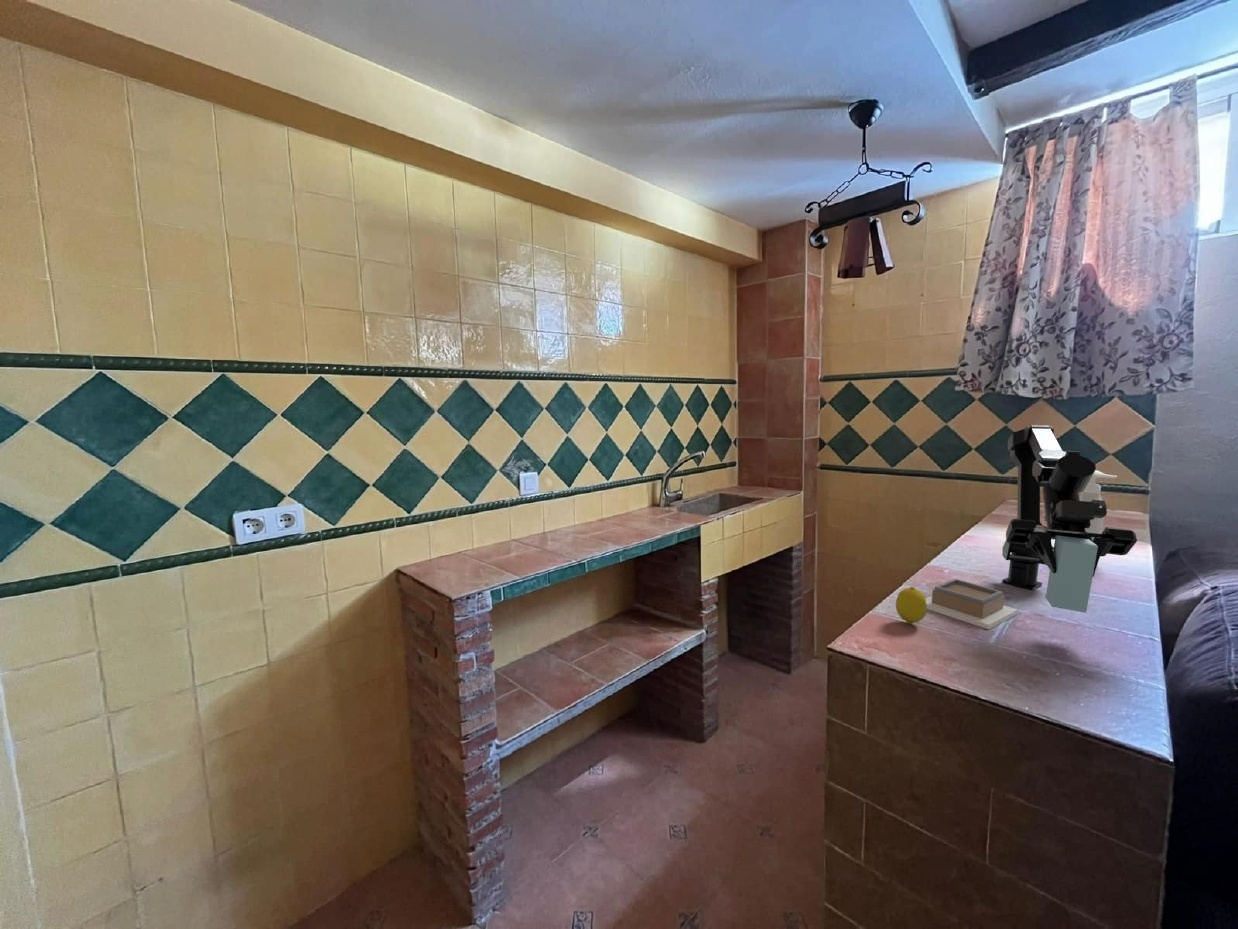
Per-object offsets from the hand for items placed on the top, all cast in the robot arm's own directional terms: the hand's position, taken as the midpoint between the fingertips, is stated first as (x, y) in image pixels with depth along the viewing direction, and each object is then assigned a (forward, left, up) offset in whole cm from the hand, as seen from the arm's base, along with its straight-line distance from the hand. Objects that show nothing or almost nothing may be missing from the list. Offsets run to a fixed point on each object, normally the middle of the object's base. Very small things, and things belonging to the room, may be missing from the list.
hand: (1072, 574), depth 95 cm
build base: (0, -17, -13) cm, 22 cm away
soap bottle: (-66, -14, -14) cm, 69 cm away
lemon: (+18, -20, -14) cm, 30 cm away
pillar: (-1, -1, -7) cm, 7 cm away
